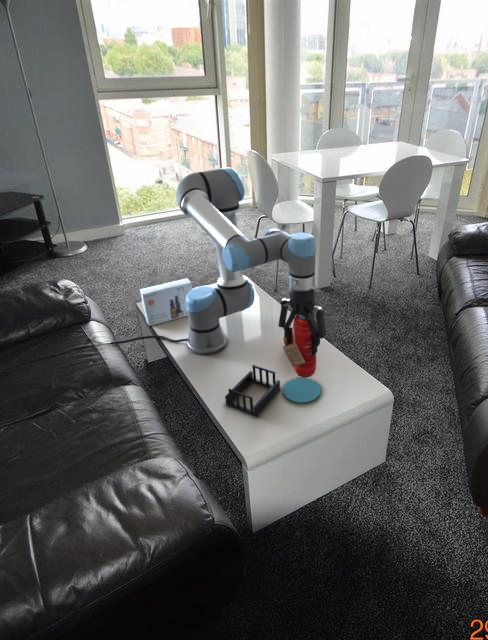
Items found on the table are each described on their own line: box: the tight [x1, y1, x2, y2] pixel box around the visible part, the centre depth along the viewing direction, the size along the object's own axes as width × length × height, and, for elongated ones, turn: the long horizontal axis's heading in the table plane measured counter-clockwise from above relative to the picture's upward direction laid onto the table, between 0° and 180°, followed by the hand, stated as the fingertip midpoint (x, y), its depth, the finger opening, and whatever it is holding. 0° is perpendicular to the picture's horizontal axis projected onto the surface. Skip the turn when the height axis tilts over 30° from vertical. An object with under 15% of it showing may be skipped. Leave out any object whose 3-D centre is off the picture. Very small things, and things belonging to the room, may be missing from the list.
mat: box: [282, 377, 322, 405], centre depth 151 cm, size 13×13×1 cm
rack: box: [224, 364, 281, 418], centre depth 147 cm, size 12×15×7 cm
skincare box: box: [139, 277, 193, 327], centre depth 190 cm, size 21×5×16 cm, turn 120°
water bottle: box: [282, 313, 317, 379], centre depth 141 cm, size 12×8×25 cm, turn 129°
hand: (301, 349), depth 142 cm, fingers closed on water bottle, 8 cm apart
